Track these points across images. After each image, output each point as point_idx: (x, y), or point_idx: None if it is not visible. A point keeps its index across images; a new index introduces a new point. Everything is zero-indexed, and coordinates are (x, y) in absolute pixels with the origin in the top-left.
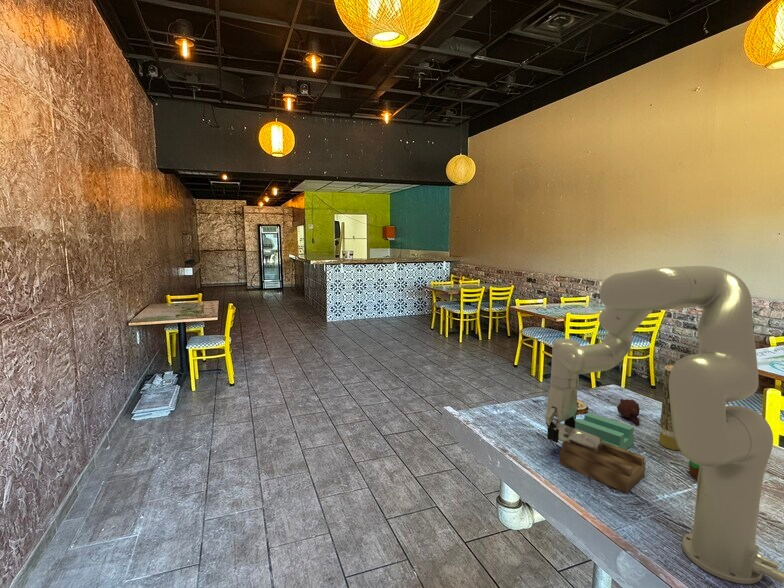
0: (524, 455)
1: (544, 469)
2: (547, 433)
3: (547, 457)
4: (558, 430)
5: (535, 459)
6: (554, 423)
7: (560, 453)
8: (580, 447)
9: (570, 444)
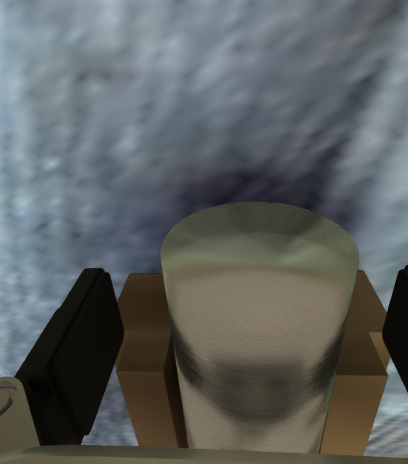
0: (5, 96)
1: (17, 256)
2: (63, 302)
3: (128, 203)
4: (74, 439)
5: (42, 173)
6: (225, 337)
7: None
8: (166, 440)
9: (148, 402)
